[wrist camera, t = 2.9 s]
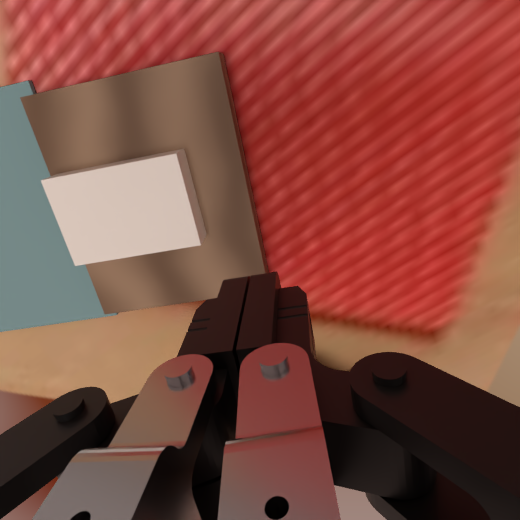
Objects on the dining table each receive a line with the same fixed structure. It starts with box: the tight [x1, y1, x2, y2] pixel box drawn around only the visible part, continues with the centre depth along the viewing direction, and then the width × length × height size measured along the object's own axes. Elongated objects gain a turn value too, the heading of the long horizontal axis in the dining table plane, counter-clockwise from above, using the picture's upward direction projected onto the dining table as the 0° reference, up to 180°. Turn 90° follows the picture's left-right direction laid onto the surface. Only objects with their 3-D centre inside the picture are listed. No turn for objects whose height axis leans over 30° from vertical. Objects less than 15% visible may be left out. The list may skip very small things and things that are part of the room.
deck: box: [20, 52, 269, 314], centre depth 29 cm, size 13×16×2 cm
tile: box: [41, 149, 207, 266], centre depth 27 cm, size 9×6×2 cm, turn 101°
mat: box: [0, 81, 118, 332], centre depth 32 cm, size 12×18×1 cm, turn 11°
